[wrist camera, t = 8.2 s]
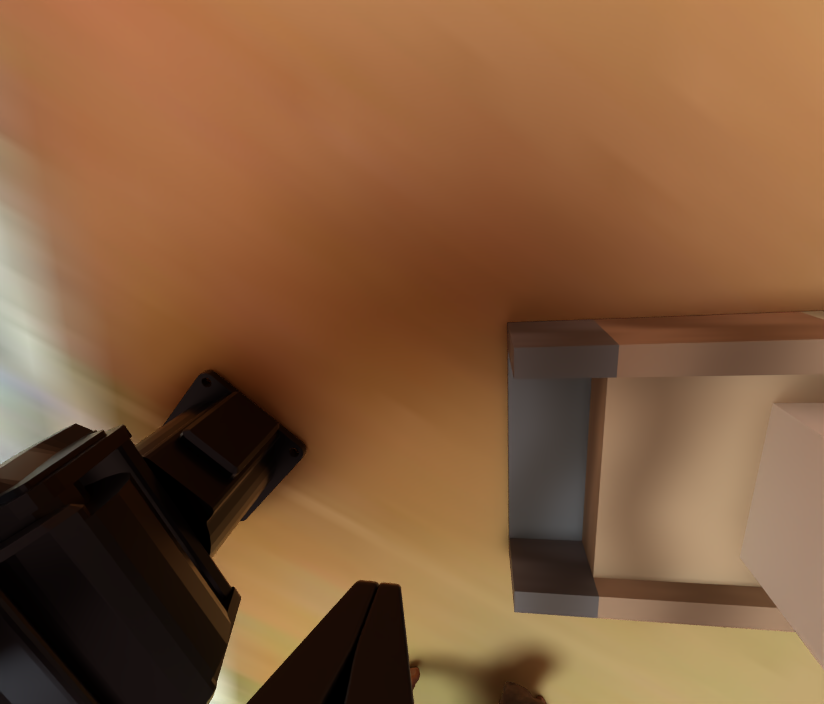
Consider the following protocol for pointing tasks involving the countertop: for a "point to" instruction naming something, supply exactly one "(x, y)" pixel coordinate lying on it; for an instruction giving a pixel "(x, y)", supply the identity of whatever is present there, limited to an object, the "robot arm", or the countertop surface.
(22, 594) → the robot arm
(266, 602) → the countertop surface
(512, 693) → the pottery mug
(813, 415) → the block
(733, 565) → the box
